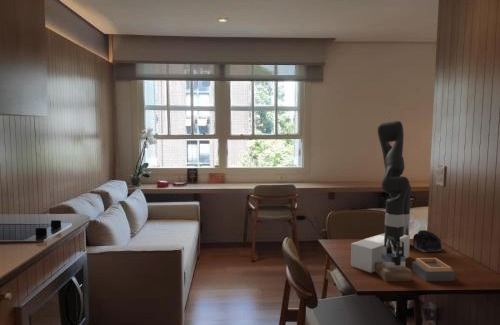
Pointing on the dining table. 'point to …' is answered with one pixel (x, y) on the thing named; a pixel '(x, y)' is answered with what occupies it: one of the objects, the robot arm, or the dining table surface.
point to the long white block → (373, 251)
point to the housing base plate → (392, 265)
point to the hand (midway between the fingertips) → (393, 261)
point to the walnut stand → (393, 273)
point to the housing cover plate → (391, 257)
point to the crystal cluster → (427, 242)
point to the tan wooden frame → (433, 269)
